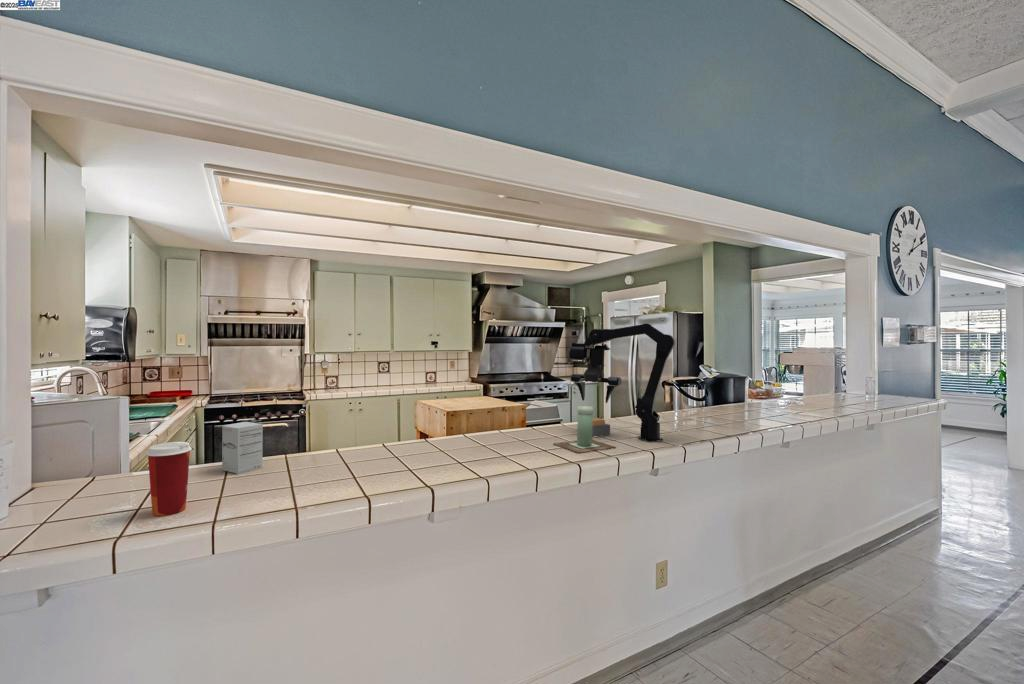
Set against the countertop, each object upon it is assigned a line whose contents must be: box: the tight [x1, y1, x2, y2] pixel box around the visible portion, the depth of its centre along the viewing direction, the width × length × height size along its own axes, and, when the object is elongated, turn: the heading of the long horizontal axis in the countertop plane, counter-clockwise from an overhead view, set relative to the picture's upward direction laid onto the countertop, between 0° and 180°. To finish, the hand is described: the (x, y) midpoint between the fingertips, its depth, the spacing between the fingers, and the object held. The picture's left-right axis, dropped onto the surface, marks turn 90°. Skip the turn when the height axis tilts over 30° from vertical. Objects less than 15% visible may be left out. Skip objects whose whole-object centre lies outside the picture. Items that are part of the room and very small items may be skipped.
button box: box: [592, 423, 611, 437], centre depth 174 cm, size 8×8×4 cm
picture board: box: [553, 439, 617, 454], centre depth 154 cm, size 16×14×1 cm
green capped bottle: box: [576, 405, 594, 446], centre depth 154 cm, size 5×5×13 cm
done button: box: [592, 417, 606, 426], centre depth 174 cm, size 5×5×2 cm
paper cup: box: [145, 441, 193, 517], centre depth 95 cm, size 8×8×14 cm
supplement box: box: [221, 421, 264, 475], centre depth 125 cm, size 7×7×13 cm
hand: (594, 401), depth 173 cm, fingers open, 9 cm apart
